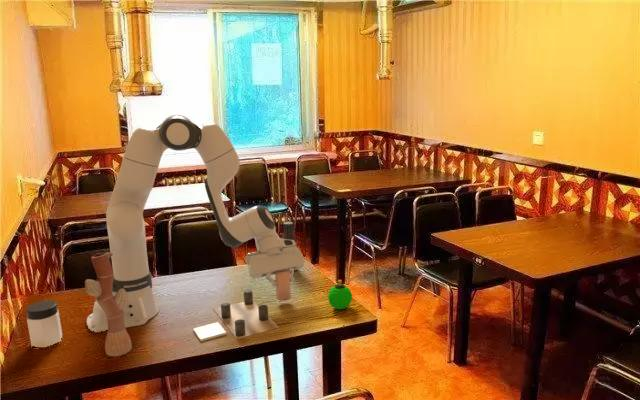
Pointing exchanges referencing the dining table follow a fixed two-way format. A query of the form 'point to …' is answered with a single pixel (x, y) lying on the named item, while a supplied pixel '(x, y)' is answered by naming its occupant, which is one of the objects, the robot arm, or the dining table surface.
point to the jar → (44, 323)
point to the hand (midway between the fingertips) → (283, 283)
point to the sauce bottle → (289, 232)
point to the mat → (209, 331)
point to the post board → (246, 317)
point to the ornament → (340, 296)
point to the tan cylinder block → (283, 285)
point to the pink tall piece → (110, 305)
